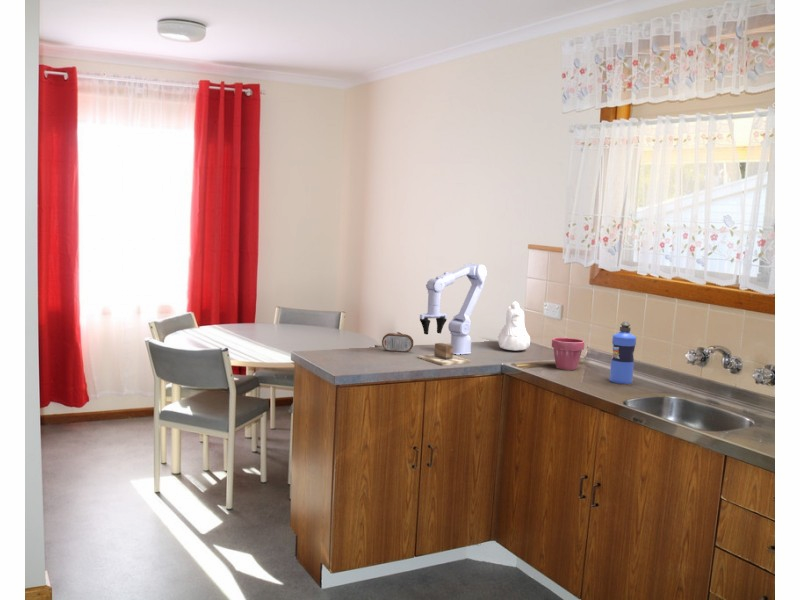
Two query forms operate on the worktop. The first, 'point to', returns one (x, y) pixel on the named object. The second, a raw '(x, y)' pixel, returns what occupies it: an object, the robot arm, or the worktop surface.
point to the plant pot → (567, 352)
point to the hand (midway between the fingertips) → (432, 333)
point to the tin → (397, 342)
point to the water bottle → (623, 356)
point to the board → (444, 362)
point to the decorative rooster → (514, 330)
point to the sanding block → (443, 351)
